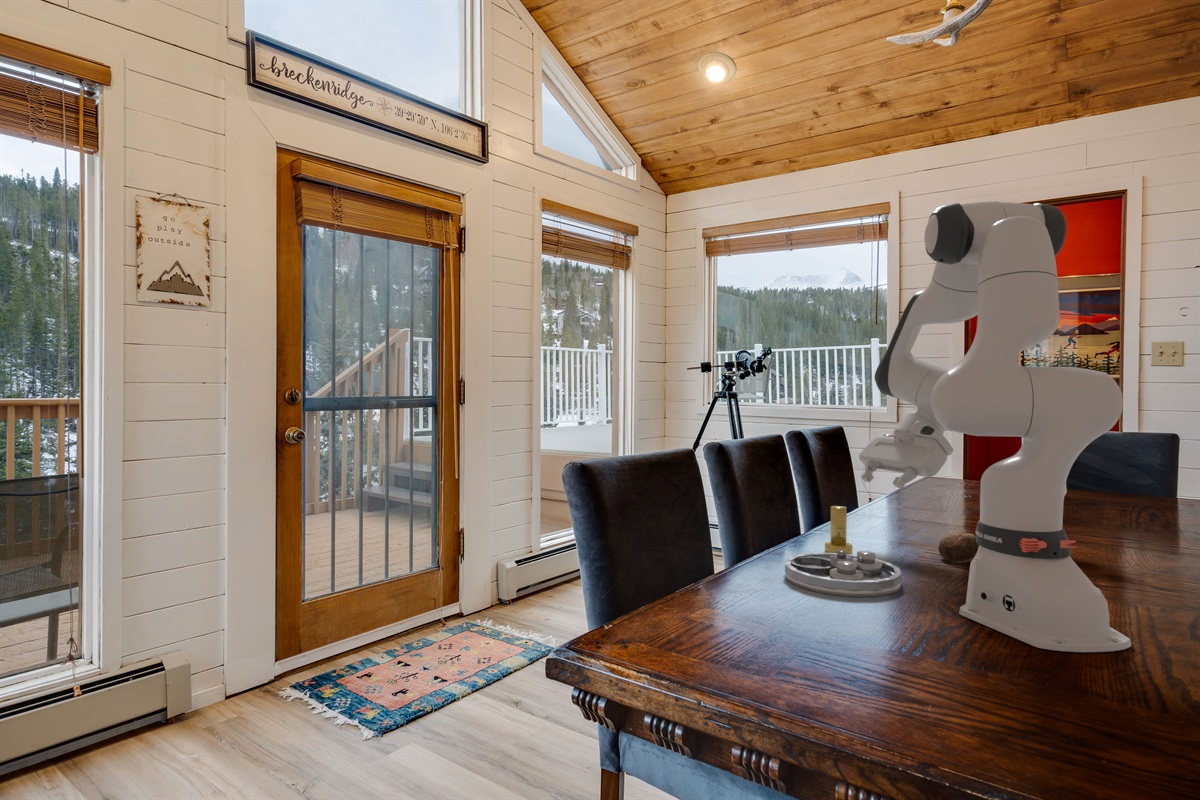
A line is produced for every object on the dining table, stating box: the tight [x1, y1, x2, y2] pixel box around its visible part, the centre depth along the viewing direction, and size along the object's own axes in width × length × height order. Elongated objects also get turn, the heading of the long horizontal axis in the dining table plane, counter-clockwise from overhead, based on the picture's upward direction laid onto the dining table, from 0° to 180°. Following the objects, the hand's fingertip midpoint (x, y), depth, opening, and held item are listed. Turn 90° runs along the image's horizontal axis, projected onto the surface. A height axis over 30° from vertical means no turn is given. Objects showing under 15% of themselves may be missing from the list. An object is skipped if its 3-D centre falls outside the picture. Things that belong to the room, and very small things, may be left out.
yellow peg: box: [824, 505, 853, 554], centre depth 146 cm, size 6×6×10 cm
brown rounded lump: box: [938, 532, 979, 564], centre depth 140 cm, size 8×8×6 cm
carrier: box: [784, 550, 903, 598], centre depth 126 cm, size 20×20×5 cm
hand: (880, 483), depth 150 cm, fingers open, 8 cm apart
